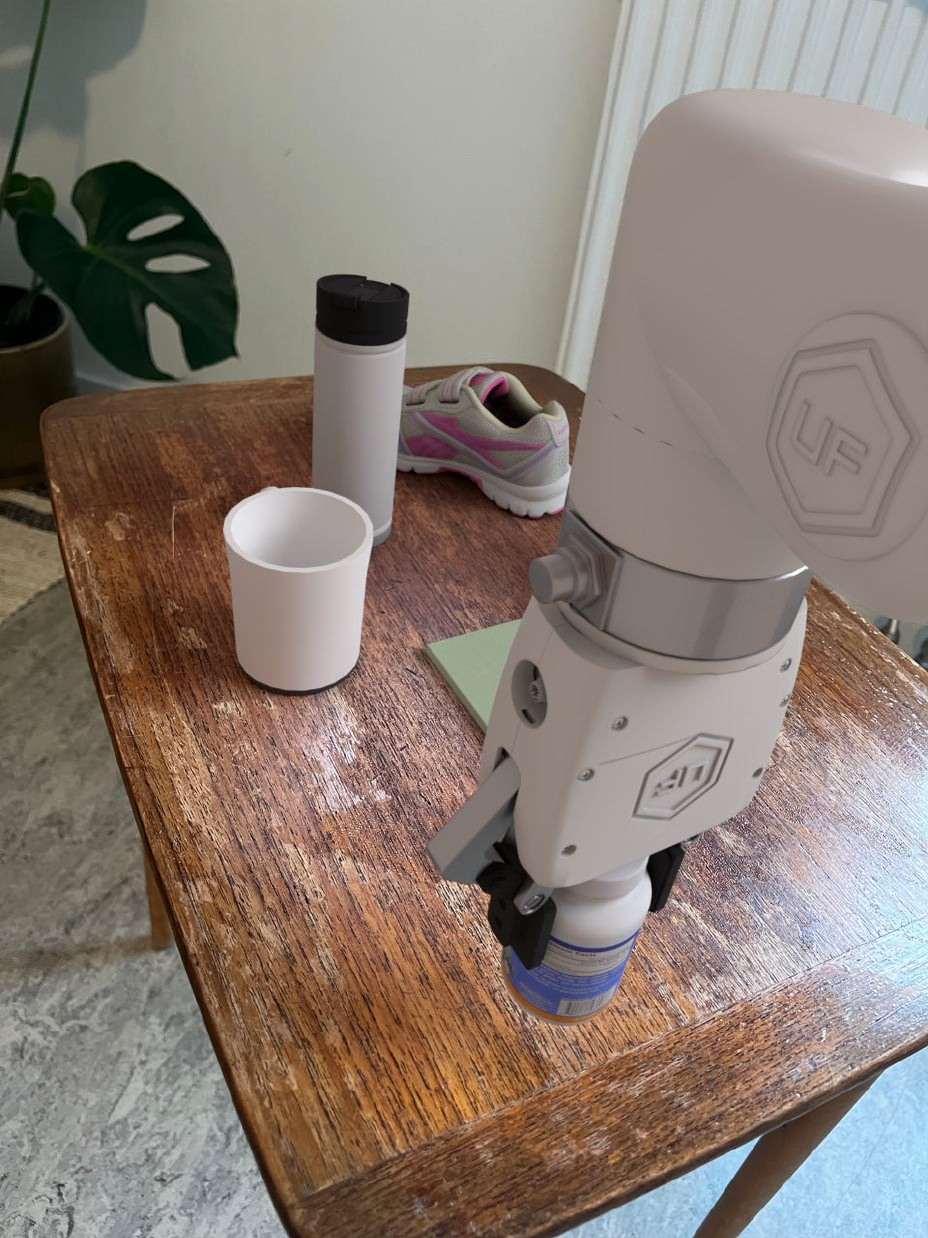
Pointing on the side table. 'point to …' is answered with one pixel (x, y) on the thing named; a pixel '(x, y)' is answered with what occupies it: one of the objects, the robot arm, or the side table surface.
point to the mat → (475, 665)
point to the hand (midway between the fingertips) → (577, 908)
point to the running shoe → (488, 439)
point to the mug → (297, 586)
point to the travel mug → (359, 392)
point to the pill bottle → (583, 948)
